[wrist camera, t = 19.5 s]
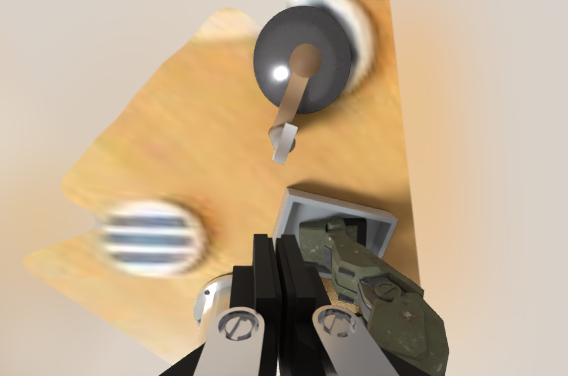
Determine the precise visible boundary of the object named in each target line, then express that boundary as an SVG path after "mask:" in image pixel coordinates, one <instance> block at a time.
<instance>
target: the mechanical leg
mask: <svg viewBox="0 0 568 376" xmlns="http://www.w3.org/2000/svg"><path fill="white" fill-rule="evenodd" d="M326 225H327V227H326ZM366 237H367V221H366V219H365V218H340V217H339V216H331V218H330V221H329V220H327V219H323V220H319V221H315V222H305V223H300V224H299V247H300V251H301V254H302V257H303V260H304V261H311V262H318V265H323V266H326V267H327V268H328V269H329V270H330V271H331V272H332V284H333V286H334V288H335V291H336V293H337V295H338V300H339V301H343V302H346V303H349V304H354V305H356V306H360V307H361V310H362V314H363V317H364V318H365V319H366V321H367V322H368V324H367V328H366V329H367V331H368V332H369V334H370V335H371V337H372V338H373V339H374V341H375V342H376V344H377V345H378V346H380V347H382V348H384V349H385V350H387V351H389V352H391V353H392V354H394V355H396V356H398V357H399V358H401V359H403V360H405V361H407V362H408V363H410V364H412V365H414V366H415V367H417V368H419V369H421V370H422V371H424V372H426V373H428V374H430V375H431V376H445V371H446V366H447V361H448V355H449V348H448V343H447V338H446V333H445V327H444V322H443V320H442V319H441V318H440V316H439V315H437V313H436V312H435V311H434V310H433V309H432V308H431V307H430V306H429V305H428V304H427V303H426V302H425V300H424V299H423V295H424V290H423V289H422V288H421V287H419V286H418V285H417V284H416V283H414V282H413V281H412V280H410V279H409V278H407V277H406V276H404V275H402V274H401V273H399V272H398V271H396V270H395V269H394V268H392V267H391V266H390V265H388V264H387V263H386V262H384V261H383V260H382V259H380V258H379V257H378V256H376V255H375V254H373V253H372V252H371V251H370V250H368V249H367V248H366Z"/></svg>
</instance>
